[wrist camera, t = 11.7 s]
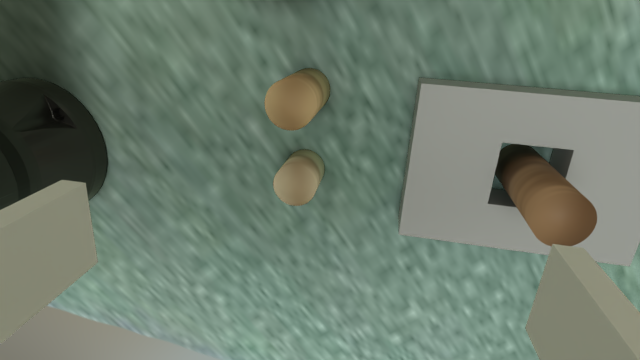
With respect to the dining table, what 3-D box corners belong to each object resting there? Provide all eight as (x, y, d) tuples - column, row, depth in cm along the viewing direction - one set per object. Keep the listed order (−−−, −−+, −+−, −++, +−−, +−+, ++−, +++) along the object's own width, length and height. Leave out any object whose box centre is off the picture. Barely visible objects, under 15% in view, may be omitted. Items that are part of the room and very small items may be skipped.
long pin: (489, 181, 39) (524, 243, 28) (498, 141, 38) (539, 189, 27) (533, 186, 39) (586, 251, 28) (544, 145, 37) (605, 197, 26)
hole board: (398, 215, 42) (398, 234, 39) (419, 77, 37) (421, 83, 34) (608, 243, 40) (629, 266, 36) (661, 98, 34) (693, 107, 31)
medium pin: (288, 108, 40) (264, 127, 33) (289, 66, 39) (264, 76, 32) (328, 112, 40) (313, 132, 32) (331, 69, 38) (316, 81, 31)
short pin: (286, 183, 43) (272, 202, 39) (287, 147, 42) (273, 162, 37) (323, 188, 43) (314, 208, 38) (325, 151, 41) (317, 167, 37)
